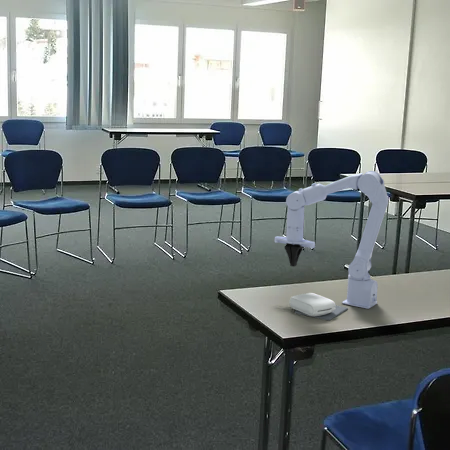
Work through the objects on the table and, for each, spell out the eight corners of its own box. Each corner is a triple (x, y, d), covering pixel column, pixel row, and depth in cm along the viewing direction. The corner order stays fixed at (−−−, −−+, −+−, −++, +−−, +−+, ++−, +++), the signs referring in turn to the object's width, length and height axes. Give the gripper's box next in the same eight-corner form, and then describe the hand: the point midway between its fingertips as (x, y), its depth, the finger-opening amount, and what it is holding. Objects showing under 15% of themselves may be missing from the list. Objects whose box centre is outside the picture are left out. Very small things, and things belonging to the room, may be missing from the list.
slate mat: (347, 309, 220) (347, 307, 220) (329, 320, 208) (329, 319, 208) (314, 302, 226) (314, 300, 226) (294, 312, 215) (294, 311, 215)
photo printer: (313, 290, 222) (339, 301, 212) (312, 303, 223) (338, 314, 213) (288, 295, 217) (314, 306, 207) (288, 308, 218) (313, 319, 207)
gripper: (270, 225, 230) (269, 264, 232) (309, 231, 222) (307, 271, 225) (280, 222, 235) (279, 260, 238) (318, 228, 228) (316, 267, 230)
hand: (293, 265), depth 232 cm, fingers closed
